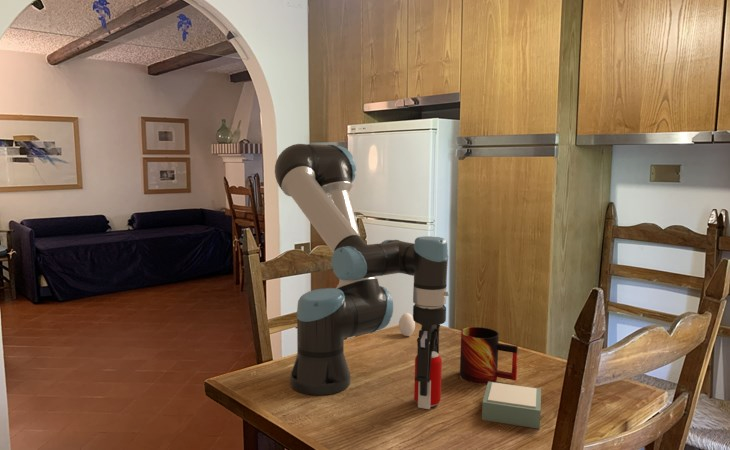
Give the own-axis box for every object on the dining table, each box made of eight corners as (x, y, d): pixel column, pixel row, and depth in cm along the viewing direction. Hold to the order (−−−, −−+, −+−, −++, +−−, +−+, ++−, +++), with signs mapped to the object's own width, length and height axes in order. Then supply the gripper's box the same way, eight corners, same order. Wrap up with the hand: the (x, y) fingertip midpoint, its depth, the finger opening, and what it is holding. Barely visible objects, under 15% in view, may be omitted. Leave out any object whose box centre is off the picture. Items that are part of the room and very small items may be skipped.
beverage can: (412, 407, 121) (413, 356, 120) (416, 396, 127) (417, 347, 126) (439, 410, 120) (440, 359, 119) (441, 399, 126) (443, 350, 125)
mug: (517, 385, 135) (519, 339, 133) (462, 383, 135) (463, 337, 134) (508, 370, 144) (510, 328, 143) (457, 369, 145) (459, 326, 144)
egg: (418, 336, 172) (418, 313, 172) (404, 339, 170) (404, 316, 169) (408, 332, 177) (409, 310, 176) (395, 334, 174) (395, 312, 173)
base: (481, 419, 116) (482, 400, 115) (487, 397, 127) (488, 380, 126) (539, 428, 112) (540, 409, 111) (540, 405, 123) (541, 387, 123)
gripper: (437, 317, 111) (435, 422, 113) (453, 296, 129) (450, 387, 131) (403, 313, 113) (401, 416, 116) (422, 294, 131) (420, 383, 134)
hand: (427, 401), depth 124 cm, fingers closed on beverage can, 6 cm apart
